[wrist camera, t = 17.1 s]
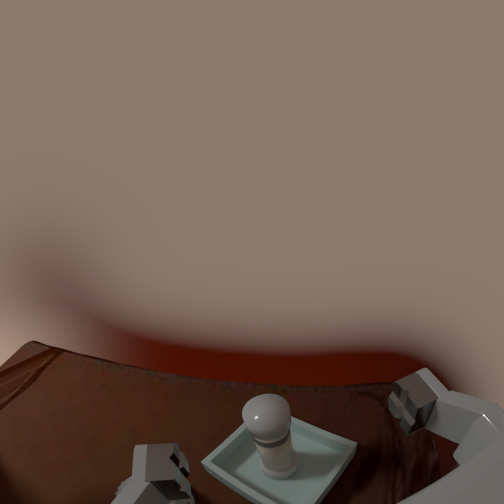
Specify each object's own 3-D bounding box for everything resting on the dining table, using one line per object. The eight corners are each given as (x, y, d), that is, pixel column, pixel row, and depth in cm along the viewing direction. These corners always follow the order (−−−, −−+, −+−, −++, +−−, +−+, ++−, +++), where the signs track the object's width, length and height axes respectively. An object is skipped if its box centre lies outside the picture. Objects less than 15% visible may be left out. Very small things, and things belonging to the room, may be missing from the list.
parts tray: (207, 471, 30) (200, 461, 29) (266, 415, 38) (263, 403, 37) (299, 528, 21) (298, 522, 20) (355, 454, 29) (357, 442, 28)
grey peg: (257, 476, 28) (235, 424, 24) (268, 449, 32) (251, 391, 28) (293, 482, 27) (282, 432, 23) (302, 453, 31) (294, 396, 26)
